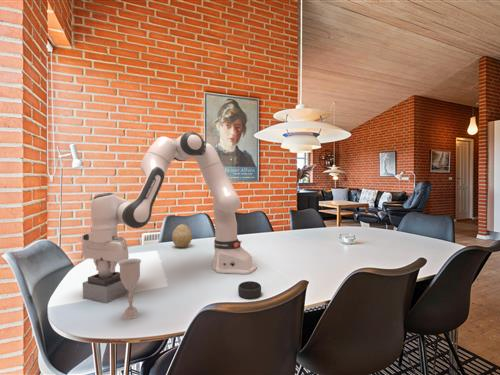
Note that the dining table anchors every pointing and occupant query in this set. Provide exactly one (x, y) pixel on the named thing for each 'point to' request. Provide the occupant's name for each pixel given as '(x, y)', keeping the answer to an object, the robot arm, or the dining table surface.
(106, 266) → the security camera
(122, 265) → the chalice
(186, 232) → the fossilized egg
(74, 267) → the dining table surface
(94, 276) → the motor block
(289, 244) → the dining table surface
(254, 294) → the smart speaker
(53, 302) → the dining table surface
